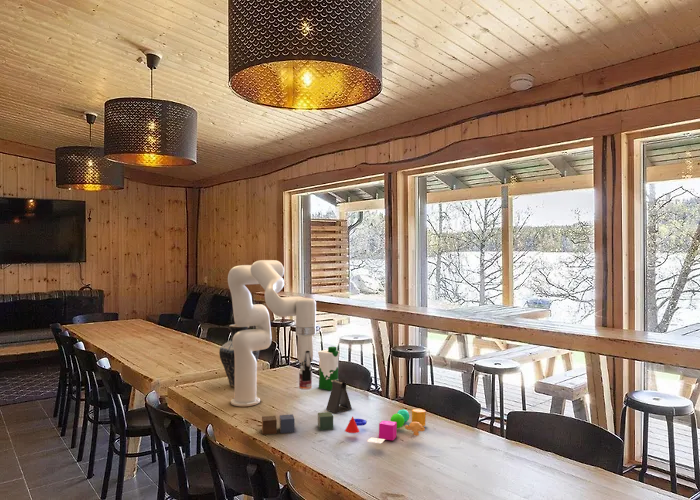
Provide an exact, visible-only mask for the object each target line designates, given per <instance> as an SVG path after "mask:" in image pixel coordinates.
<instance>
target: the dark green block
mask: <svg viewBox="0 0 700 500" xmlns="http://www.w3.org/2000/svg"><path fill="white" fill-rule="evenodd" d="M317 427H318V429H319V431H330V430H334V415H333V412H331V411H326V412H325V411H324V412H317Z"/></svg>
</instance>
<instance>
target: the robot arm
mask: <svg viewBox="0 0 700 500" xmlns="http://www.w3.org/2000/svg"><path fill="white" fill-rule="evenodd" d="M284 274H285V268H284V265H283V264H282V262H281V261H279V260H276V259H261V260H260V259H259V260H256V261H254V262H252V264H241V265H235V266H233V267H232V268H230V270H229V271H228V274H227V285H228V288H229V291H230V296H231V302H232V303H231V304H232V312H233V321H234V324H236V325H237V326H238V327H249V330H242V331H239V332H237V333H236V334H235V335H234V336H233V340H232V342H233V348H234V356H235V387H233V389H234V394H233V395H234V396H233V398H232V399H230V404H231V405H232V406H234V407H242V408H243V407H252V406H256V405H259V404H260V403H261V398H260V397H259V396H258V394H257V393H258V391H257V387H258V360H257V361H256V358H255V357H254V355H253V353H252V351H257V350H260V351H262V350H266V349H269V348H270V346H271V344H272V338H273V337H272V327H271V318H270V317H271V316H270V312H269V310H270V311H271V313H273V314H274V316H276V317H280V318H286V317H295V336H297V346H296V347H297V348H296V359H297V361H298V362H299V363H300V366H303V370H302V381H311V372H312V366H311V363H312V362H313V360H314V336H316V335H317V301H316V300H315V299H314V298H310V297H304V296H301V295H298V296H280V295H279V292H281V291H282V290H283V288H284V287H285V286H284V285H285V281H284V278H283V277H284ZM246 285H260V286H261V288H262V289H263V290H264V301H265V305H264V304H261V303H257V304H254V303H253V296H252V293H251V291H250V290H249V288H248V287H247V286H246ZM268 309H269V310H268ZM254 326H255V328H251V329H250V327H254ZM300 371H301V370H300V369H299V372H300Z"/></svg>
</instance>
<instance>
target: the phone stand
mask: <svg viewBox="0 0 700 500" xmlns="http://www.w3.org/2000/svg"><path fill="white" fill-rule="evenodd" d="M325 409H326V410H327V412H331V413H332V414H339V413H343V412H347V411H351V410H352V409H353V408H352V404H351V402H350V397H349V394H348V390H347V383H346V382H345V381H342V380H339V379H338V380H337V381H336V380H333V382H332V390H330V394H329V398H328V401H327V404H326V408H325Z"/></svg>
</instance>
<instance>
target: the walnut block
mask: <svg viewBox="0 0 700 500" xmlns="http://www.w3.org/2000/svg"><path fill="white" fill-rule="evenodd" d="M277 427H278V420H277V416H276V415H264V416H261V433H262V435H263V436H265V435H275V434H278V433H277V432H278V431H277V429H278V428H277Z"/></svg>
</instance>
